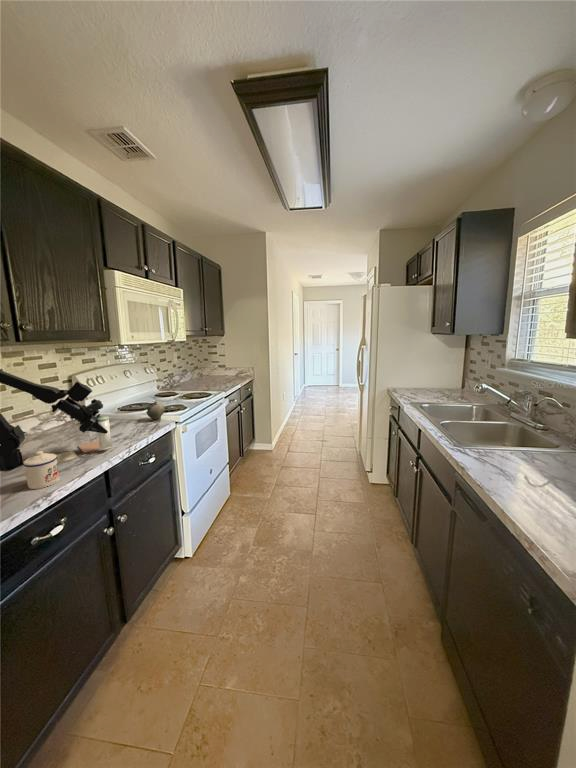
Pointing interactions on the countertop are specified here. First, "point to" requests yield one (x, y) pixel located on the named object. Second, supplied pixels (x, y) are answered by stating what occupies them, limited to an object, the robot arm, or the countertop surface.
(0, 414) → the robot arm
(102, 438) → the spice jar
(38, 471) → the teacup with lid
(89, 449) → the mat
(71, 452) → the mat
